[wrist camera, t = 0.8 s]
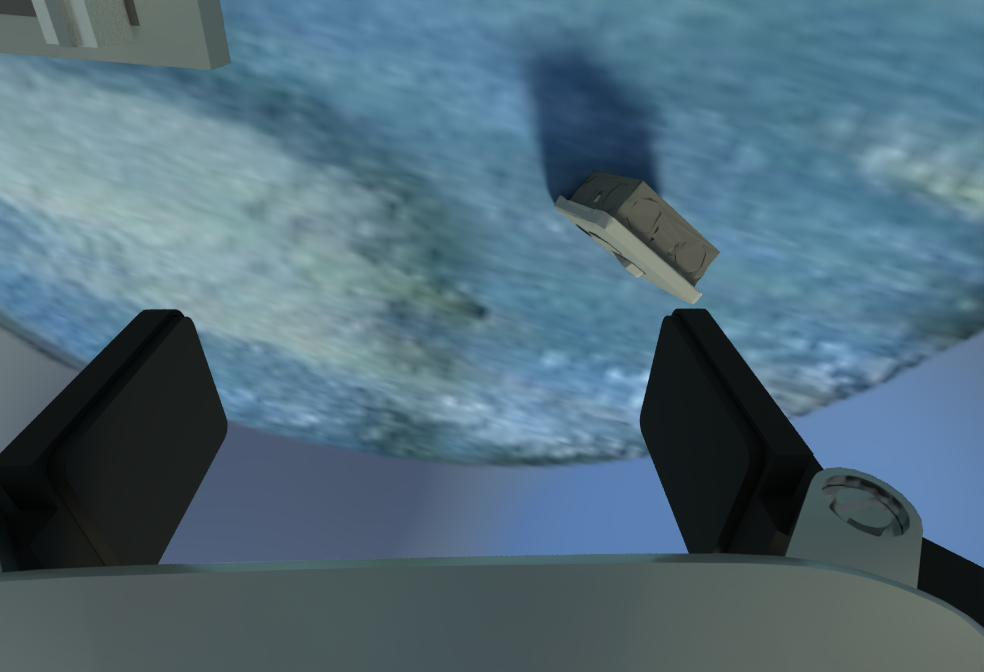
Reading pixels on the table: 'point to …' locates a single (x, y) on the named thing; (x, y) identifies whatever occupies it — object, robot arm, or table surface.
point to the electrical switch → (640, 232)
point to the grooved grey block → (83, 22)
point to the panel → (156, 31)
